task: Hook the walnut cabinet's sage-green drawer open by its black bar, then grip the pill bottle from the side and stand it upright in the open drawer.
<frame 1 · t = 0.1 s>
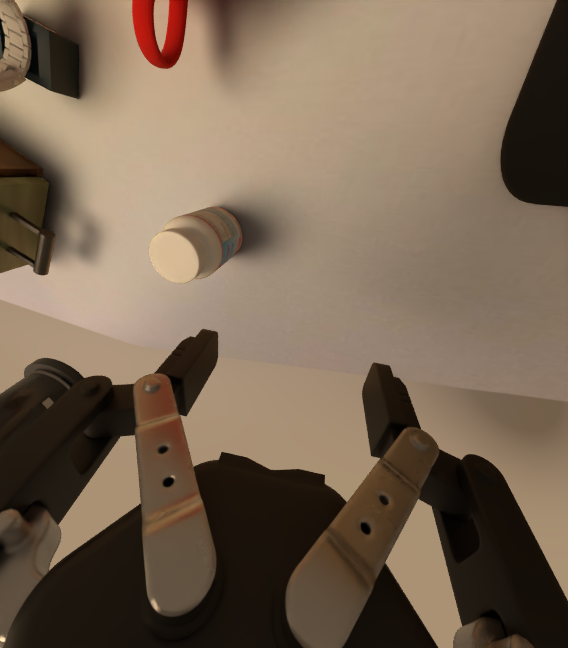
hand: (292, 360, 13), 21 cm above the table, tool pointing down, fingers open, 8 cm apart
watch: (52, 57, 26), on the table
pill bottle: (220, 232, 32), on the table
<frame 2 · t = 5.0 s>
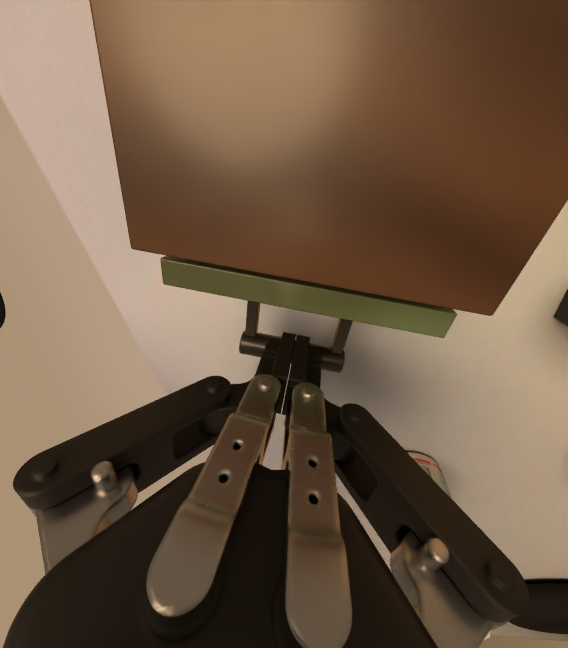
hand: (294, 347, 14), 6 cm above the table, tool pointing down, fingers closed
drawer: (325, 180, 11), point 4 cm above the table, slide at 0.5 cm, touching gripper
pill bottle: (406, 465, 27), on the table
cabinet: (346, 69, 12), on the table
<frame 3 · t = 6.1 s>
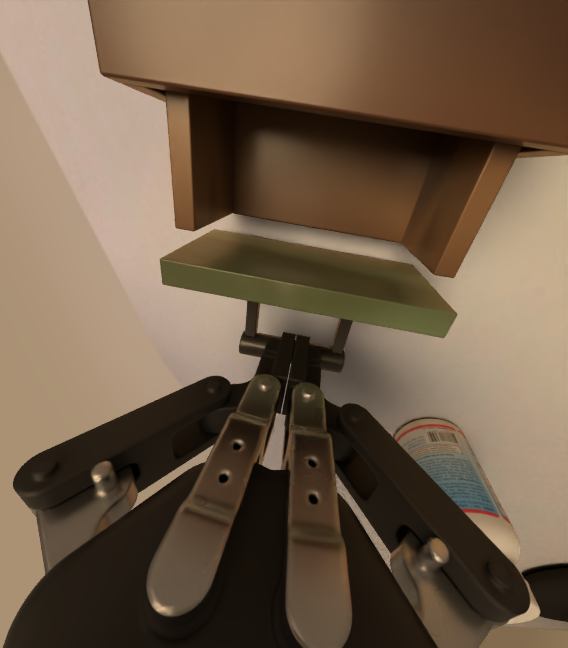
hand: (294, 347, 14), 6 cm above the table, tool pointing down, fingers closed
drawer: (325, 180, 11), point 4 cm above the table, slide at 5.4 cm, touching gripper
pill bottle: (425, 435, 25), on the table
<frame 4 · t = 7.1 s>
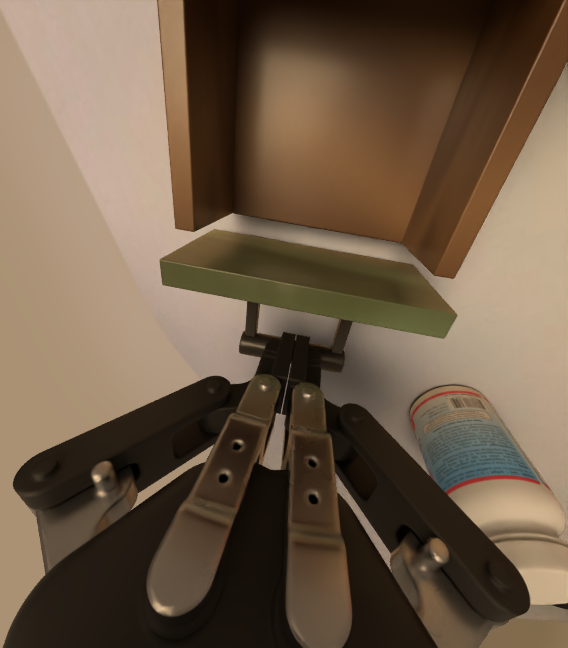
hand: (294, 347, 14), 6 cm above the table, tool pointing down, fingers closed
drawer: (325, 180, 11), point 4 cm above the table, slide at 9.4 cm, touching gripper
pill bottle: (445, 407, 22), on the table
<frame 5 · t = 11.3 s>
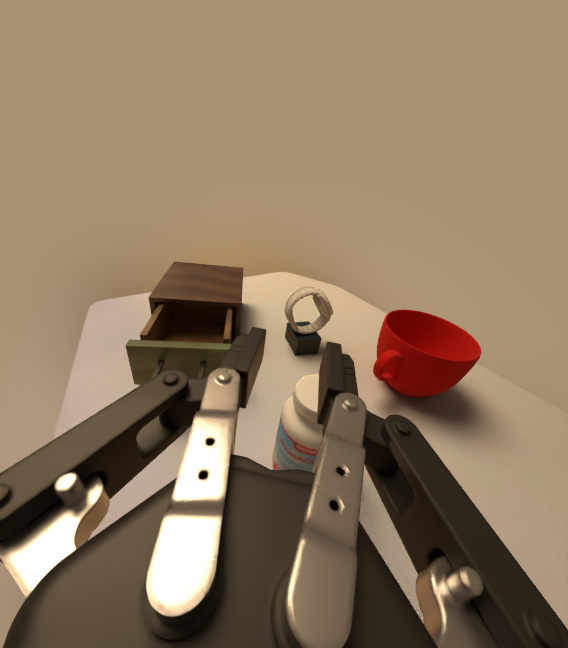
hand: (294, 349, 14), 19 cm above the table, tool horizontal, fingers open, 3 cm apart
watch: (301, 345, 48), on the table
ceramic cup: (396, 386, 42), on the table
drawer: (190, 344, 37), point 4 cm above the table, slide at 9.4 cm
pill bottle: (299, 465, 29), on the table
cabinet: (204, 318, 50), on the table
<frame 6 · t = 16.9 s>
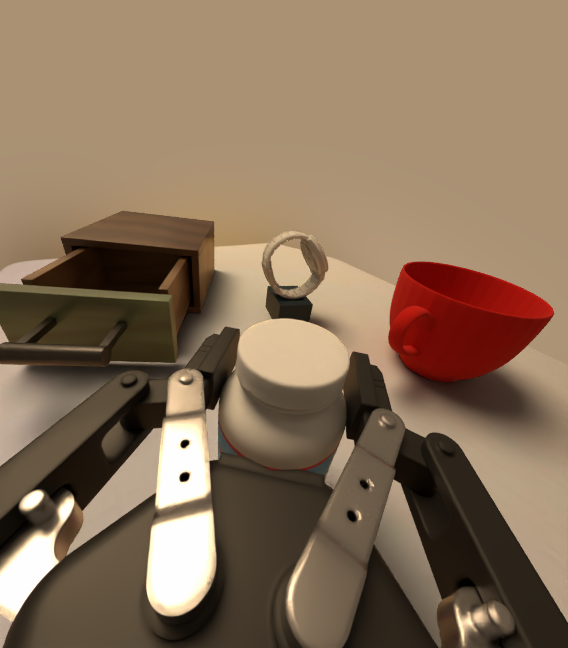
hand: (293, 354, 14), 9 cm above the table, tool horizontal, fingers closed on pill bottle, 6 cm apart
watch: (286, 316, 36), on the table
ceramic cup: (417, 368, 30), on the table
drawer: (116, 302, 25), point 4 cm above the table, slide at 9.4 cm
pill bottle: (266, 489, 17), on the table, touching gripper
cabinet: (161, 284, 38), on the table
when the fingers open (11 cm above the table, at t = 25.2 s): pill bottle stays where it is, resting on drawer.
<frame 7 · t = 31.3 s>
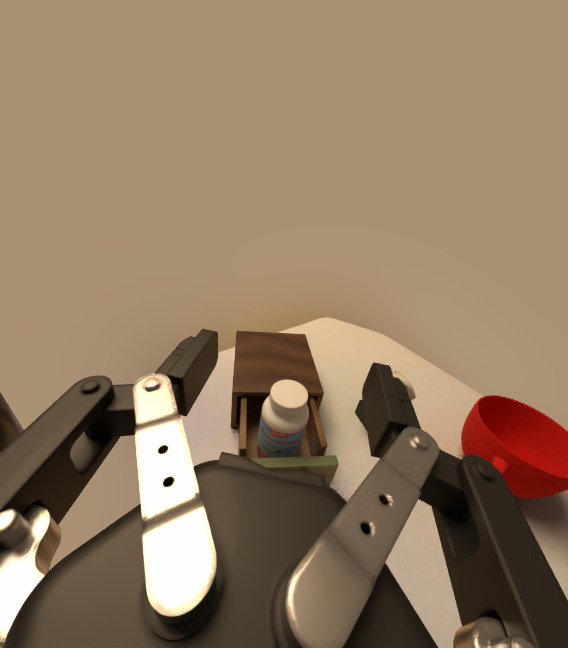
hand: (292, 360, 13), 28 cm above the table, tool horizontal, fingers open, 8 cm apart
watch: (373, 422, 46), on the table
ceramic cup: (483, 477, 40), on the table
drawer: (279, 444, 35), point 4 cm above the table, slide at 9.3 cm, touching pill bottle
pill bottle: (277, 448, 37), point 2 cm above the table, touching drawer
cabinet: (270, 391, 49), on the table
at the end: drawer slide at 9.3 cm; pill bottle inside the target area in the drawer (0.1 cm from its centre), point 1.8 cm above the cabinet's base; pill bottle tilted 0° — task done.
